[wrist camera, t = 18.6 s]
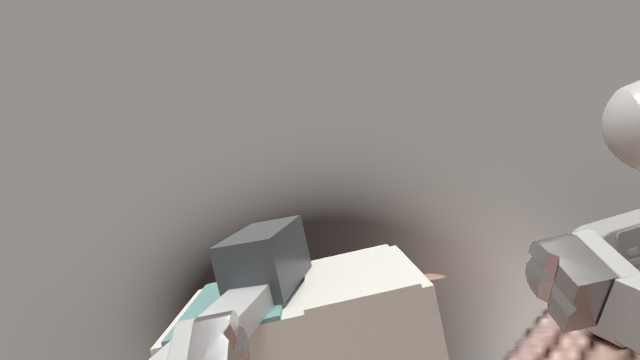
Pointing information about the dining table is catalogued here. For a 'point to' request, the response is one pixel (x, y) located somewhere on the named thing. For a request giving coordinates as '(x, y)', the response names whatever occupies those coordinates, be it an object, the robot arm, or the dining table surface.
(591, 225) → the rounded white slab
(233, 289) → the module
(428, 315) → the stand
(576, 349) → the dining table surface
